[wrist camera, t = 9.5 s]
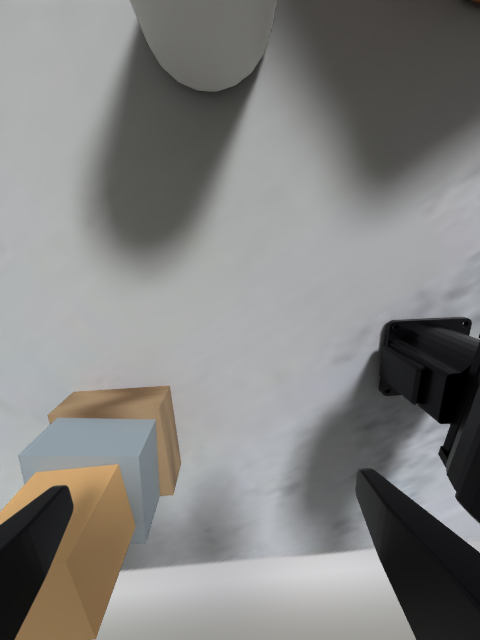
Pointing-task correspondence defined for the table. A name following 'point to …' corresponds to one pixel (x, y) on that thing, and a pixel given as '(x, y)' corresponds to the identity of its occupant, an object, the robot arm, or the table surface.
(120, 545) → the ochre cube
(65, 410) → the walnut base block
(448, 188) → the table surface
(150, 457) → the slate block
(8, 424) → the table surface
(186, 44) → the can
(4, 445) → the table surface
